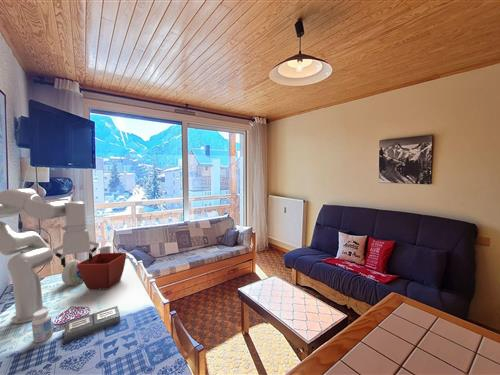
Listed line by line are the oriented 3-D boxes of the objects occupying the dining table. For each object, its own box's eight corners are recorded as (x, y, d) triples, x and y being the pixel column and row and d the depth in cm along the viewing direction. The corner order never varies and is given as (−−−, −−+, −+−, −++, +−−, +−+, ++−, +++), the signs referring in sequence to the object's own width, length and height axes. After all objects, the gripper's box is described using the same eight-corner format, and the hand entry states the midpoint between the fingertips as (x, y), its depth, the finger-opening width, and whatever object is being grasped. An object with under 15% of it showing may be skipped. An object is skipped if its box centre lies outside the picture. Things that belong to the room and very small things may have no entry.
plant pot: (100, 277, 153) (98, 252, 152) (128, 277, 153) (126, 252, 151) (78, 292, 134) (75, 264, 133) (110, 292, 134) (107, 264, 132)
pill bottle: (51, 330, 102) (48, 306, 101) (54, 336, 98) (51, 311, 97) (32, 338, 97) (29, 313, 96) (35, 345, 93) (32, 318, 92)
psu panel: (64, 341, 94) (64, 333, 94) (66, 329, 102) (65, 321, 102) (120, 321, 106) (120, 314, 106) (117, 311, 114) (117, 305, 114)
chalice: (109, 270, 165) (107, 245, 164) (114, 272, 161) (112, 247, 160) (98, 274, 159) (96, 248, 157) (103, 276, 155) (101, 250, 154)
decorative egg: (76, 287, 141) (74, 263, 140) (57, 287, 142) (55, 263, 141) (91, 278, 153) (89, 256, 152) (73, 278, 154) (71, 256, 153)
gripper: (50, 232, 99) (52, 271, 101) (98, 227, 110) (99, 262, 111) (52, 229, 105) (54, 265, 107) (97, 224, 116) (98, 257, 117)
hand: (77, 264), depth 109 cm, fingers open, 9 cm apart
